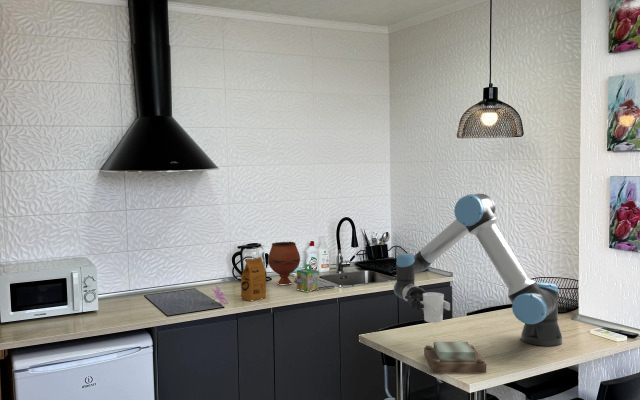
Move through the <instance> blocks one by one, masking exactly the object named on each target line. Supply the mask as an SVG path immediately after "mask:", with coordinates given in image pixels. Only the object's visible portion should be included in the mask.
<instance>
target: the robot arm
mask: <svg viewBox="0 0 640 400" xmlns="http://www.w3.org/2000/svg"><path fill="white" fill-rule="evenodd" d="M453 211H454V216H455V219H454V220H453V221H452V222H451V223H450V224H449V225H448V226H447V227H446V228H445V229H443V230H442V231H441V232H440V233H439V234H438V235H436V236H435V237H434V238H432V240H430V241H429V242H428V243H427V244H426V245H425V246H424V247H422V248H421V249H420V250H419V251H418V252H417V253H416V254H412V253H409V252H408V253H398V254H397V255H396V262H395V263H396V282H395V283H394V285H393V292H394V294H395V296H397V297H398V299H402V300H404V303H405V304H408V306H410V307H411V308H412V309H414V308H415V309H416V310H417V311H421V310H422V311H424V310H425V311H427V312H429V304H427V303H425V302H423V294H424V293H427V292H426V291H425V289H424V288H422V287H419V286H418V285H416V284H415V274H419V273H421V272H425V271H426V270H428V269H429V268H430V266H431V265H432V263H434V262H435V261H436V260H437V259H438V258H440V257H441V256H442V255H443V254H445V253H446V252H447V251H448V250H449V249H451V248H452V247H453V246H455V244H457V243H458V242H460V241H461V239H463V238H464V237H465V236H467V235H468V234H470V235H474V236H475V237H476V238H477V240H478V242H479V243H480V245H481V247H482V248H483V249H484V251H485V253H486V255H487V257H488V258H489V259H490V261H491V263H492V265H493V266H494V268H495V270H496V271H497V273H498V274H499V276H500V278H501V279H502V281H503V283H504V284H505V286H506V288H507V289H508V291H507V292H508V293H507V297H508V299H509V300H510V302H511V310H512V313H513V316H515V318H516V319H517V320H518V321H519V322H521V323H524V325H523V328H522V331H521V333H520V334H521V335H520V337H521V338H520V339H521V341H522V342H524V343H527V344H530V345H534V346H540V347H541V346H542V347H544V346H545V347H549V346H550V347H553V346H560V345H561V344H563V336H562V332H561V328H560V326H559V321H558V318H559V317H558V315H559V313H558V311H559V310H558V309H559V305H558V303H559V302H558V301H559V289H558V287H559V286H558V285H557V284H554V283H550V282H548V283H547V282H537V281H536V280H534V279H533V280H532V279H530V278H529V276H528V274H527V273H526V271H525V270H524V268H523V267H522V265H521V264H520V263H521V262H520V261H519V260H518V259H517V256H516V255H515V254H514V253H513V250H512V249H511V247H510V246H509V243H507V241H506V239H505V238H504V236H503V234H502V233H501V231H500V229H499V228H498V227H497V225H496V223H497V217H496V216H495V213H496V205H495V202H494V200H493V198H491V197H490V196H489V195H487V194H485V193H475V194H467V195H465V196H462V197H460V198H458V200H457V202H456V203H455V205H454V209H453ZM443 310H446V311H451V303H450V302H449V298H447V297H444V303H443Z"/></svg>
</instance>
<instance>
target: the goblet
mask: <svg viewBox="0 0 640 400" xmlns="http://www.w3.org/2000/svg"><path fill="white" fill-rule="evenodd" d="M267 261H268V266H269V267H270V269H271V270H272V271H273V272H275V273H276V274H278V275H279V278H280V279H279V280H278V281H277V284H278V283H279V284H289V283H292V284H293V282H292V281H291V280H290V278H289V277H290V274H292V273H293V272H294V271H296V270H297V268H298V267H299V266H300V262H301V256H300V252H299V249H298V247H297V243H296V242H294V241H280V242H279V241H278V242H272V243H271V248H270V251H269V254H268V258H267Z"/></svg>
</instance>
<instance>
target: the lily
mask: <svg viewBox="0 0 640 400" xmlns="http://www.w3.org/2000/svg"><path fill="white" fill-rule="evenodd" d="M210 289H211V290H212V291H213V293H214V294H215V295H214V299H213V300H212V302H211V304H213V303H214V301H215V300H219V301H220V303H221V306H222V305H223V306H224V302H225V303H227V304H230V301H229V299H228V298H226V296H224V295H225V293H224V291H221V289H220V287H219V285H218V284H217V283H215V288H213V287H210Z"/></svg>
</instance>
